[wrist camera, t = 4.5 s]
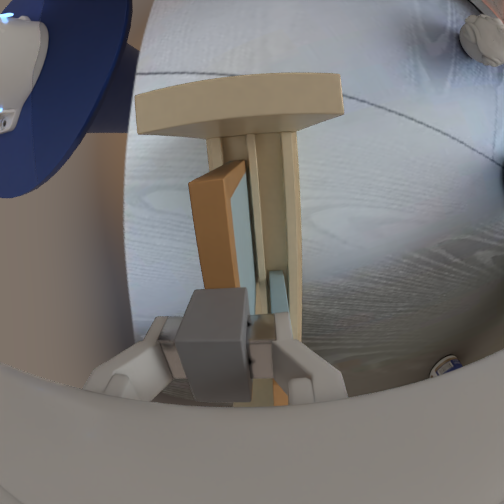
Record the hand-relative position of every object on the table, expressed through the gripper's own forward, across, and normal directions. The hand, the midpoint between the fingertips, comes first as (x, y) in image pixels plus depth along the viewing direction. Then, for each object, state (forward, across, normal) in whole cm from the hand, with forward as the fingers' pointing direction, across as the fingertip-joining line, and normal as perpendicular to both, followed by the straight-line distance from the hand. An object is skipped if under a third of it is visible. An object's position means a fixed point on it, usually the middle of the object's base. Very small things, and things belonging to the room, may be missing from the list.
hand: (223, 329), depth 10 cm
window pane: (+13, 0, 0) cm, 13 cm away
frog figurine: (+15, -26, -20) cm, 36 cm away
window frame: (+15, -1, +4) cm, 15 cm away
